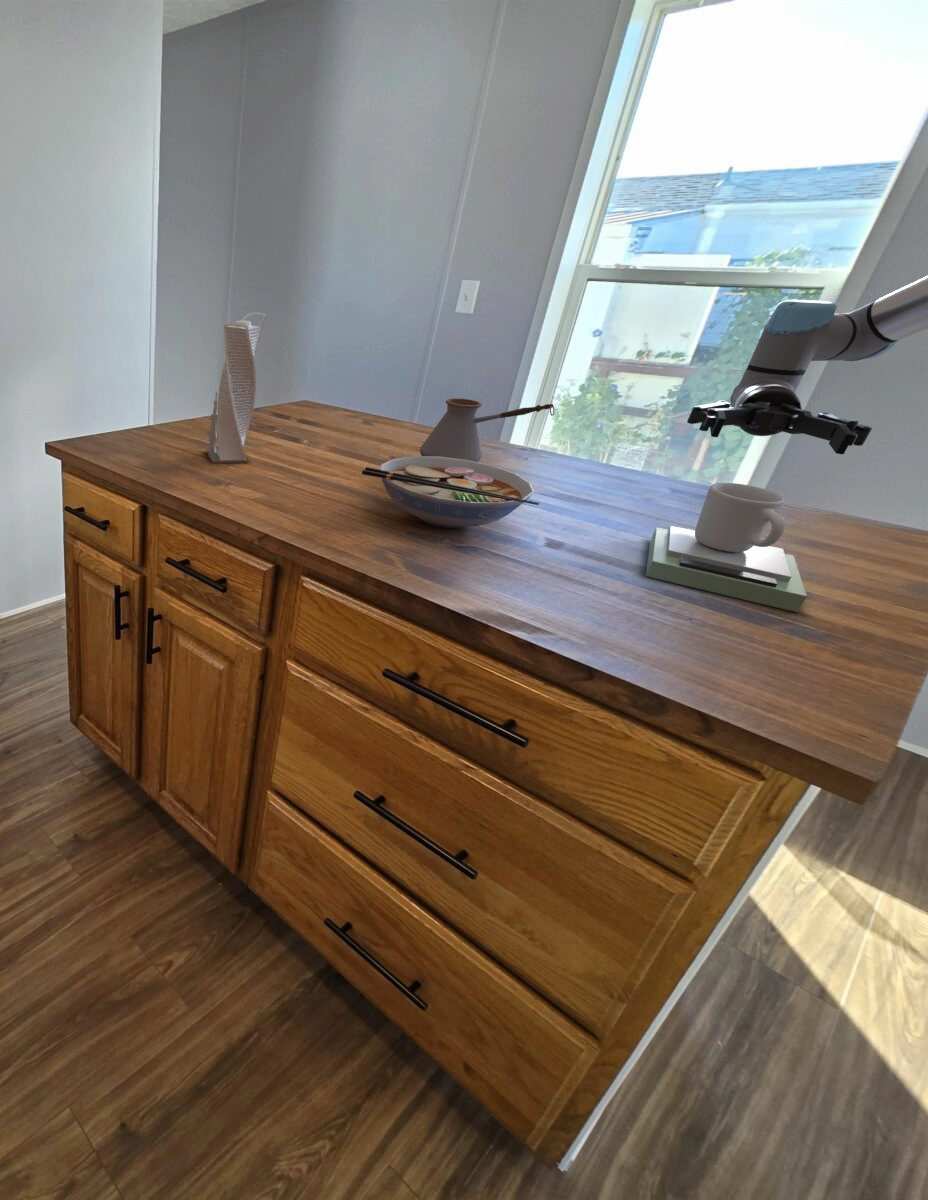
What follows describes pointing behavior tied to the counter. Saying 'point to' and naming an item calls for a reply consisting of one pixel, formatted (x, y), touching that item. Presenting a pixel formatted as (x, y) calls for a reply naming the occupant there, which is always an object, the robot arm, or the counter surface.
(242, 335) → the skyscraper
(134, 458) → the counter surface
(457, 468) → the ramen bowl
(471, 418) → the coffee pot
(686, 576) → the scale
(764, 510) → the cup
